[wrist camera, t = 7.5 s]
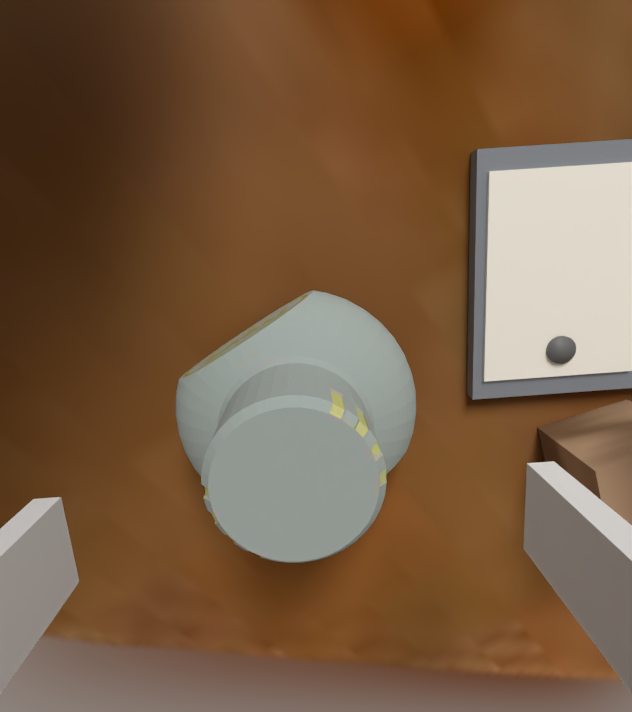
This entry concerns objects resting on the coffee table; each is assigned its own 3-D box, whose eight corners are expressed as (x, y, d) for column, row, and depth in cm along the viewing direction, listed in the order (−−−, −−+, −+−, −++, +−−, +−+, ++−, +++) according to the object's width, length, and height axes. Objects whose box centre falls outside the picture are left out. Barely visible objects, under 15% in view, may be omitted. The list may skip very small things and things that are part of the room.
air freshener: (343, 264, 22) (376, 276, 12) (425, 396, 24) (511, 499, 14) (166, 380, 23) (67, 476, 13) (257, 498, 25) (228, 659, 15)
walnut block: (554, 503, 25) (613, 563, 21) (536, 426, 24) (595, 471, 19) (638, 477, 25) (719, 531, 20) (625, 398, 24) (707, 436, 19)
